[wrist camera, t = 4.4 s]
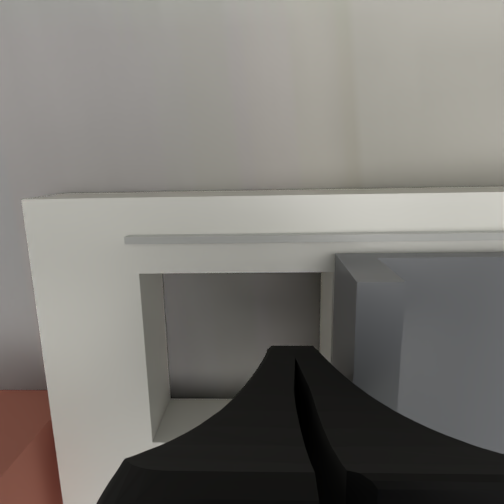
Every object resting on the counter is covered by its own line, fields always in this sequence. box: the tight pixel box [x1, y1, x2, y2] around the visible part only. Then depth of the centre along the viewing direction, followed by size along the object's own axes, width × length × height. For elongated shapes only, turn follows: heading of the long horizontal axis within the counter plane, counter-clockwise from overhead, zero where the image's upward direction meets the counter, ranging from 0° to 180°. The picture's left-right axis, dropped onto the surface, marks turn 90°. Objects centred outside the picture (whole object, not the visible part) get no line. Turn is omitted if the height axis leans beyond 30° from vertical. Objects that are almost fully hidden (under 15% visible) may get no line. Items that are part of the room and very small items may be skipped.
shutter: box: [332, 252, 504, 454], centre depth 10 cm, size 7×7×3 cm
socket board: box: [21, 186, 504, 504], centre depth 14 cm, size 16×16×3 cm
